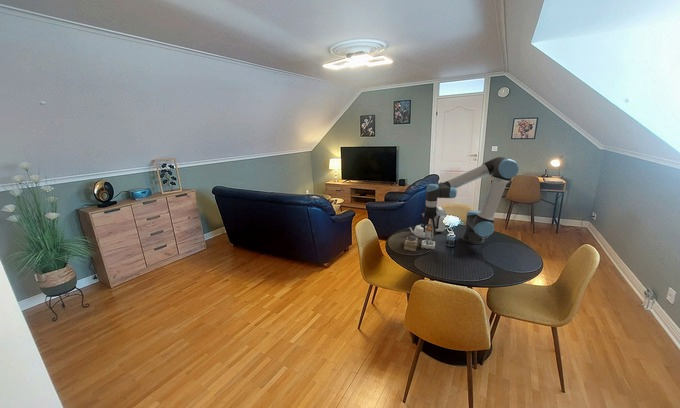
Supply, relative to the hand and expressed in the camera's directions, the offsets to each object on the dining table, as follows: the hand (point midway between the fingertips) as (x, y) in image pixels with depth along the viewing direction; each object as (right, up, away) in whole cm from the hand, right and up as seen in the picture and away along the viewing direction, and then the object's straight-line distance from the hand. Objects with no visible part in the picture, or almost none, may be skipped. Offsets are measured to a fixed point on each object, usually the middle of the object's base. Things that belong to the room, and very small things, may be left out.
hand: (428, 236), depth 199 cm
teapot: (0, -2, +21) cm, 21 cm away
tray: (0, -7, +2) cm, 8 cm away
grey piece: (+17, +2, +32) cm, 37 cm away
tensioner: (-12, -7, +3) cm, 15 cm away
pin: (0, -5, +2) cm, 6 cm away
